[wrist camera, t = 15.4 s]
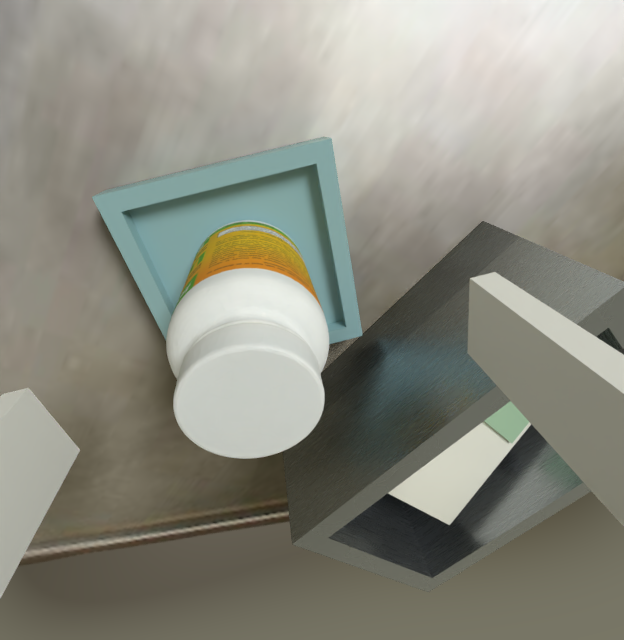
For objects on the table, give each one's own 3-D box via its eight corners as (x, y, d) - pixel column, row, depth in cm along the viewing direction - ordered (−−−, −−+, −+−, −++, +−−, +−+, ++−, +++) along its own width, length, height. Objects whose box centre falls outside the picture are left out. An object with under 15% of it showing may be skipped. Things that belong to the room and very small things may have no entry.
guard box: (483, 220, 19) (628, 284, 12) (565, 328, 24) (704, 420, 17) (278, 413, 24) (291, 544, 16) (382, 470, 28) (428, 592, 21)
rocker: (473, 321, 18) (504, 333, 17) (531, 381, 21) (563, 397, 20) (360, 463, 19) (379, 490, 17) (433, 503, 22) (455, 530, 20)
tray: (324, 136, 16) (331, 138, 14) (355, 321, 21) (362, 335, 20) (105, 190, 16) (91, 196, 14) (191, 364, 21) (187, 381, 19)
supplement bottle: (191, 213, 16) (125, 317, 7) (309, 221, 17) (367, 322, 8) (197, 318, 18) (152, 482, 10) (299, 320, 19) (335, 471, 11)
